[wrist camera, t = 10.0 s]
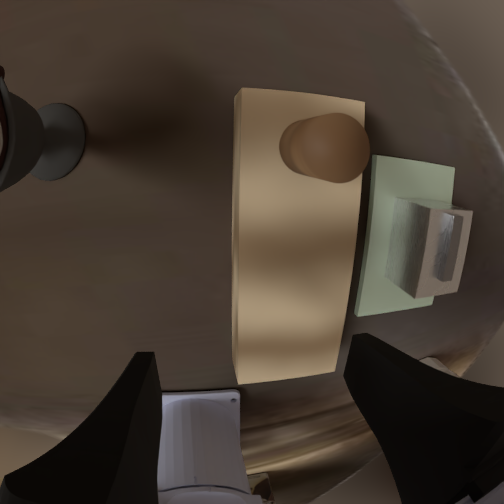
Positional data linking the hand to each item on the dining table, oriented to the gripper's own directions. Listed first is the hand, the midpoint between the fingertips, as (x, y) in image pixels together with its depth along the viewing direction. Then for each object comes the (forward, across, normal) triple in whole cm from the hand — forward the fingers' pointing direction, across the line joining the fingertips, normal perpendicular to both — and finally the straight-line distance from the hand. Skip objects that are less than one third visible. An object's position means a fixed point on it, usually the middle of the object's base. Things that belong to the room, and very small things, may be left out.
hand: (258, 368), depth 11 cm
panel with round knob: (+10, -4, -1) cm, 11 cm away
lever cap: (+10, -14, -2) cm, 17 cm away
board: (+10, -14, -1) cm, 17 cm away
